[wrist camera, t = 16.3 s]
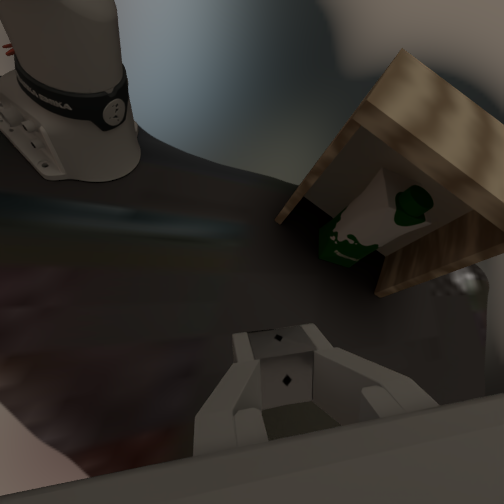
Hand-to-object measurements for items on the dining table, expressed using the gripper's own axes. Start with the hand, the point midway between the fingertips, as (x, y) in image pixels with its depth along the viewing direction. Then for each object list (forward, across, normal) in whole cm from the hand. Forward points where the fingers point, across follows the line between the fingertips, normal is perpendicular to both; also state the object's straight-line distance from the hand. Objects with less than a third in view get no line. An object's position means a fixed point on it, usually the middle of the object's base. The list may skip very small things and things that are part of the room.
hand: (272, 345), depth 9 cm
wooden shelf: (+39, -22, +8) cm, 46 cm away
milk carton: (+40, -23, +8) cm, 46 cm away
